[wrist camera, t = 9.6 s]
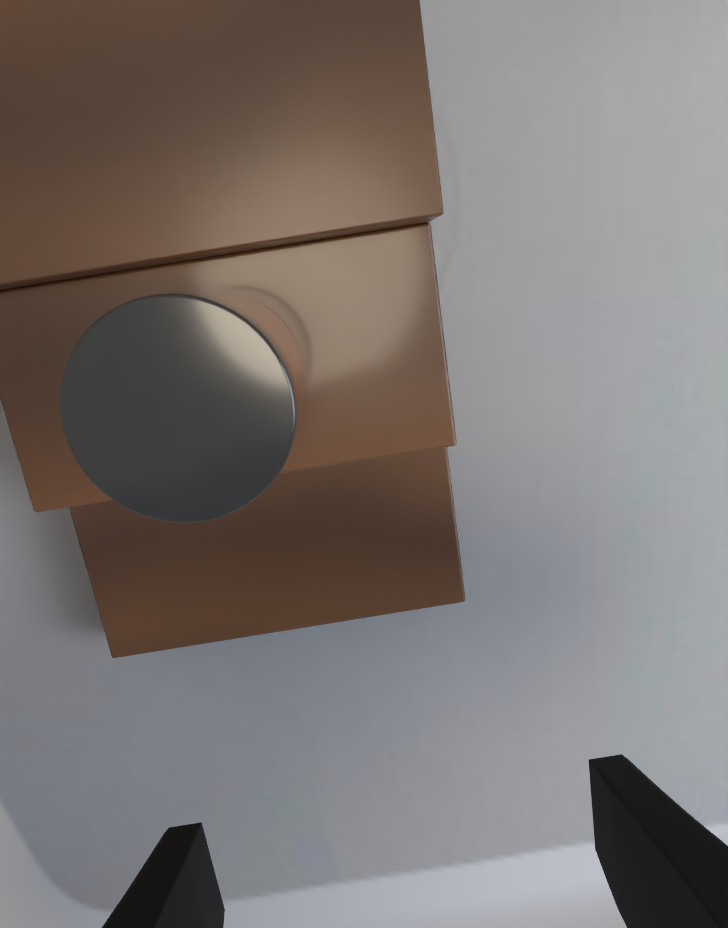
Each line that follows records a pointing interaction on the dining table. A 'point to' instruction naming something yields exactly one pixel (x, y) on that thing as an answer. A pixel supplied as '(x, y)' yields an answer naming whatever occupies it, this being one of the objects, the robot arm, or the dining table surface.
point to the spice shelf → (237, 289)
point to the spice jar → (183, 403)
